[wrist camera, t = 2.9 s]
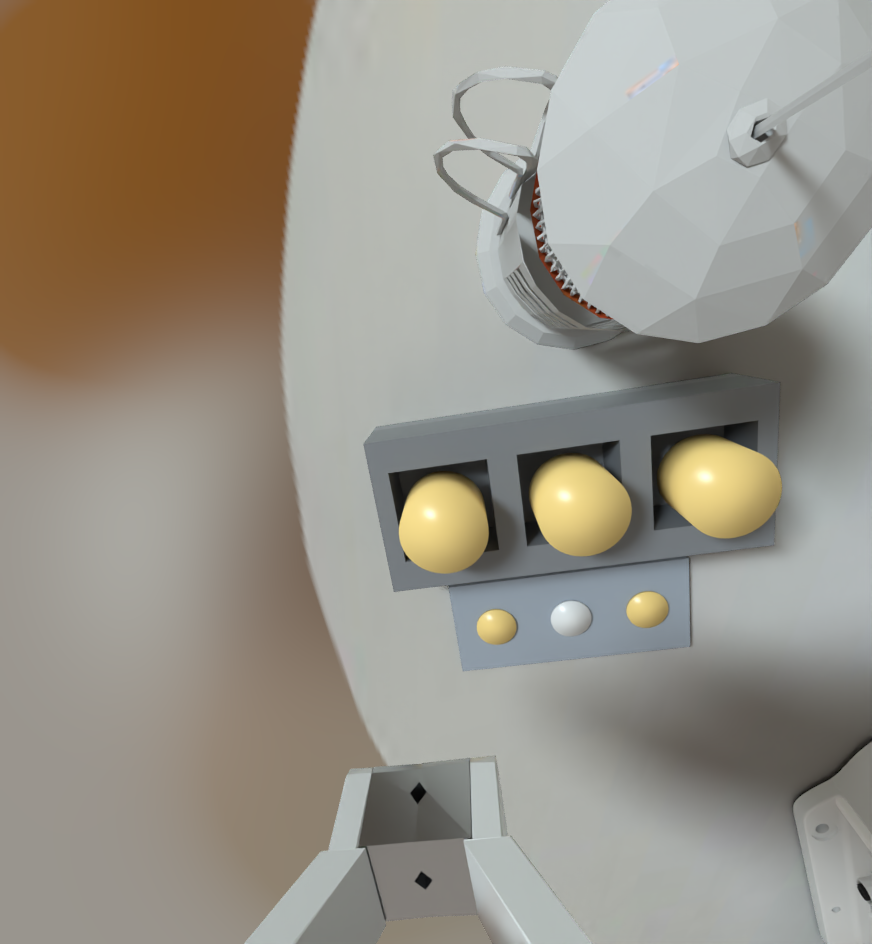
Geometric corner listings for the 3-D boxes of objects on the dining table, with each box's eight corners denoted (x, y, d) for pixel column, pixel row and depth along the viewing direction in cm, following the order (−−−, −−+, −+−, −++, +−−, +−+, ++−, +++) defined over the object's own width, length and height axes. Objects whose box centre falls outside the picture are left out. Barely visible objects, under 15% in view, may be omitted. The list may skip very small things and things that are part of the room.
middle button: (613, 523, 25) (633, 550, 22) (532, 534, 25) (542, 561, 22) (608, 447, 24) (629, 464, 21) (524, 458, 24) (533, 477, 21)
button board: (729, 638, 30) (768, 683, 26) (424, 671, 32) (420, 718, 28) (732, 373, 26) (780, 382, 22) (376, 426, 27) (363, 444, 23)
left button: (489, 539, 25) (494, 567, 22) (412, 549, 26) (407, 578, 23) (479, 465, 24) (482, 484, 21) (398, 476, 24) (391, 497, 22)
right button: (741, 507, 24) (780, 531, 21) (658, 518, 24) (684, 544, 22) (742, 427, 23) (783, 442, 20) (655, 440, 23) (683, 456, 20)
